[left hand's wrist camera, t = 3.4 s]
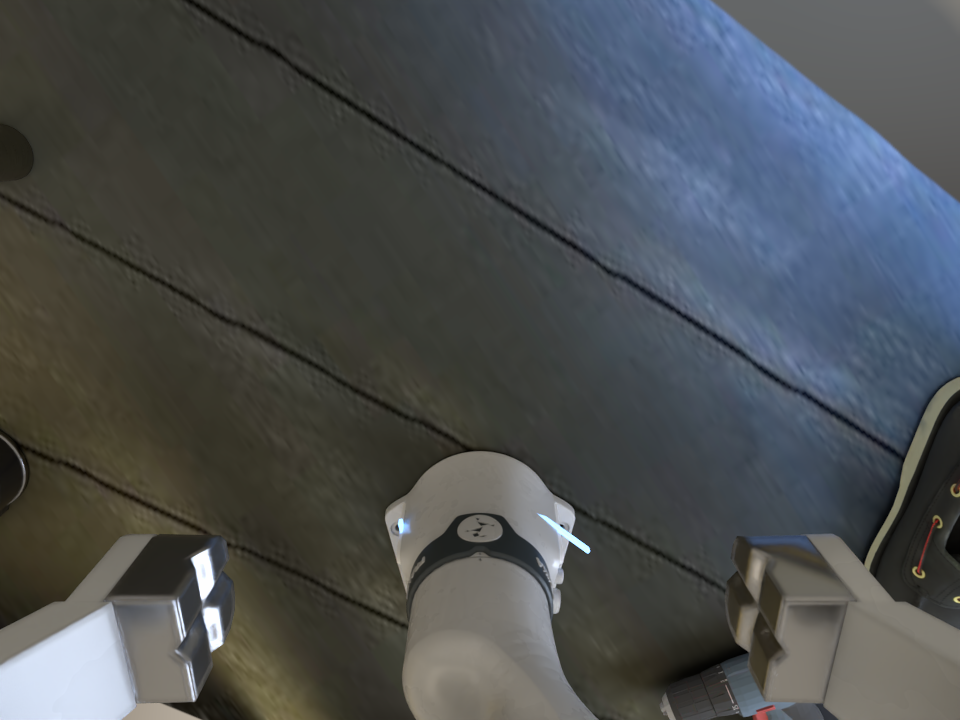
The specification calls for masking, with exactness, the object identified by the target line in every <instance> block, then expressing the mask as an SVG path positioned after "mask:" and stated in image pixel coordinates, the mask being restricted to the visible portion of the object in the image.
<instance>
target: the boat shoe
mask: <svg viewBox="0 0 960 720" xmlns="http://www.w3.org/2000/svg"><path fill="white" fill-rule="evenodd" d="M864 566H865V567H866V568H867V569H868V571H869V572H870V573H871V574H872V575H873V576H874V578H875V579H876V580H877V581H878V582H879V583H880V585H881V586H882V587H883V588H884V589H885V590H886V592H887V593H888V594H889V595H890V596H891V597H892V599H893V600H894V601H895V602H907V603H909V604H911V605H913V606H915V607H916V608H918V609H920V610H922V611H924V612H926V613H928V614H930V615H932V616H934V617H936V618H938V619H940V620H942V621H943V622H945V623H947V624H949V625H951V626H953V627H955V628H957V629H959V630H960V377H958V378H956V379H954V380H952V381H950V382H948V383H947V384H945V385H944V386H943V387H942V388H941V389H940V390H939V391H938V392H937V393H936V394H935V396H934V397H933V398H932V400H931V401H930V403H929V405H928V406H927V408H926V411H925V413H924V415H923V417H922V420H921V422H920V424H919V427H918V429H917V432H916V434H915V437H914V439H913V442H912V444H911V446H910V449H909V451H908V454H907V456H906V459H905V462H904V464H903V469H902V474H901V480H900V487H899V491H898V493H897V496H896V499H895V502H894V505H893V507H892V509H891V511H890V513H889V515H888V517H887V519H886V521H885V523H884V524H883V526H882V528H881V529H880V531H879V533H878V535H877V536H876V538H875V540H874V542H873V544H872V546H871V548H870V550H869V552H868V555H867V558H866V560H865V564H864Z"/></svg>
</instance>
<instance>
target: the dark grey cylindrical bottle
mask: <svg viewBox="0 0 960 720" xmlns="http://www.w3.org/2000/svg"><path fill="white" fill-rule="evenodd" d="M32 165H33V153H32V149H31V146H30V144H29V143H28V141H27V140H26V138H25V137H24V136H23V135H22V134H21V133H20V132H18V131H17V130H16V129H14V128H12V127H10V126H7V125H1V124H0V182H5V181H11V180H18V179H21V178H23V177H25V176H26V175H27V174H28V173H29V171H30V170H31V168H32Z"/></svg>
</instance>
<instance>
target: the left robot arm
mask: <svg viewBox="0 0 960 720" xmlns="http://www.w3.org/2000/svg"><path fill="white" fill-rule="evenodd" d="M385 522H386V525H387V529H388V532H389V536H390V539H391V542H392V546H393V549H394V553H395V556H396V560H397V563H398V566H399V570H400V573H401V577H402V580H403V584H404V587H405V591H406V599H407V618H408V622H409V628H408V636H407V643H406V650H405V658H404V665H403V672H402V682H403V690H404V694H405V698H406V701H407V703H408V706H409V708H410V710H411V712H412V713H413V715H414V717H415V718H416V720H598V719H597V718H596V717H595V716H594V715H593V714H592V713H591V712H590V711H589V709H588V708H587V707H586V706H585V705H584V704H583V703H582V702H581V700H580V699H579V698H578V696H577V695H576V694H575V693H574V691H573V690H572V688H571V687H570V685H569V684H568V682H567V680H566V678H565V676H564V674H563V671H562V669H561V665H560V662H559V658H558V654H557V651H556V646H555V642H554V637H553V632H552V627H551V622H552V618H553V613H554V614H556V613H558V612H559V609H560V602H561V593H560V590H558V589H556V588H555V587H556V584H562V582H563V576H564V572H563V569H561V567H562V563H563V560H564V556H565V553H566V549H567V546H568V542H569V540H570V541H571V542H572V543H574V544H575V545H577V546H578V547H579V548H581V549H582V550H584V551H585V552H586V553H589V552H590V549H589V547H588V546H586V545H585V544H584V543H582V542H581V541H579V540H578V539H577V538H575V537H574V536H573V535H571V532H572V529H573V525H574V522H575V512H574V509H573V507H572V506H571V505H570V504H568V503H567V502H565V501H564V500H562V499H560V498H559V497H557V496H555V495H553V494H552V493H551V492H550V491H549V490H548V488H547V487H546V486H545V484H544V483H543V482H542V480H541V479H540V478H539V476H538V475H537V474H536V473H535V472H534V471H533V470H532V469H530V468H529V467H528V466H527V465H525V464H523V463H522V462H520V461H518V460H516V459H514V458H512V457H509V456H507V455H504V454H500V453H495V452H488V451H472V452H465V453H460V454H456V455H453V456H451V457H448V458H446V459H444V460H442V461H440V462H438V463H437V464H435V465H434V466H432V467H431V468H430V469H428V470H427V471H426V472H425V473H424V474H423V475H422V476H421V478H420V479H419V480H418V482H417V483H416V484H415V486H414V487H413V489H412V490H411V491H410V492H409V493H408V494H407V495H405V496H403V497H401V498H400V499H398V500H396V501H395V502H393V503H392V504H391V505H389V506H388V507H387V509H386V512H385ZM560 524H562V525H563V526H562V527H560ZM397 525H398V526H399V527H398V526H397ZM228 560H229V554H228V549H227V544H226V540H225V539H224V538H223V537H221V536H220V535H174V534H159V535H156V534H128V535H125V536H122V537H120V538H119V539H118V540H117V541H116V543H115V544H114V545H113V546H112V547H111V548H110V550H109V551H108V552H107V553H106V554H105V555H104V557H103V558H102V559H101V560H100V561H99V562H98V564H97V565H96V566H95V567H94V568H93V569H92V571H91V572H90V573H89V574H88V575H87V576H86V578H85V579H84V580H83V581H82V582H81V583H80V585H79V586H78V587H77V588H76V589H75V590H74V592H73V593H72V594H71V595H70V596H69V597H68V599H67V600H66V601H65V602H53V603H51V604H49V605H47V606H45V607H44V608H42V609H40V610H38V611H36V612H34V613H32V614H30V615H28V616H26V617H24V618H22V619H20V620H18V621H16V622H15V623H13V624H11V625H9V626H7V627H5V628H3V629H1V630H0V720H121V719H123V718H124V717H125V716H126V715H127V714H128V713H130V712H131V711H132V710H133V709H134V708H135V707H136V703H167V702H195V701H196V699H197V697H198V695H199V693H200V691H201V689H202V687H203V685H204V683H205V681H206V679H207V677H208V675H209V673H210V671H211V669H212V667H213V663H212V657H211V652H212V651H213V650H215V649H216V648H218V647H219V646H220V645H222V644H223V643H224V642H225V640H226V637H227V635H228V633H229V631H230V629H231V624H232V620H233V615H234V610H235V591H234V585H233V581H232V580H231V579H230V578H229V577H228V576H227V575H226V574H225V573H224V572H223V571H222V570H223V569H224V567H225V565H226V563H227V561H228ZM731 560H732V561H733V563H734V565H735V567H736V569H737V570H738V571H737V572H736V573H735V574H734V575H733V576H732V577H731V578H730V579H729V580H728V581H727V585H726V593H725V607H726V617H727V621H728V624H729V628H730V631H731V633H732V635H733V637H734V640H735V642H736V643H737V644H738V645H740V646H741V647H742V648H744V649H745V650H747V651H748V652H749V657H748V663H747V667H748V669H749V671H750V673H751V675H752V677H753V679H754V681H755V683H756V685H757V687H758V689H759V691H760V693H761V695H762V697H763V699H764V701H765V702H792V703H824V705H823V706H824V707H825V708H826V709H827V710H828V711H830V712H831V713H832V714H833V715H834V716H835V717H837V718H838V719H839V720H960V630H959V629H957V628H955V627H953V626H951V625H949V624H947V623H945V622H943V621H942V620H940V619H938V618H936V617H934V616H932V615H930V614H928V613H926V612H924V611H922V610H920V609H918V608H916V607H915V606H913V605H911V604H909V603H907V602H895V601H894V600H893V599H892V597H891V596H890V595H889V594H888V593H887V592H886V590H885V589H884V588H883V587H882V586H881V585H880V583H879V582H878V581H877V580H876V579H875V578H874V576H873V575H872V574H871V573H870V572H869V571H868V569H867V568H866V567H865V566H864V565H863V564H862V562H861V561H860V560H859V559H858V558H857V557H856V556H855V554H854V553H853V552H852V551H851V550H850V549H849V547H848V546H847V545H846V544H845V543H844V542H843V540H842V539H841V538H840V537H838V536H836V535H834V534H806V535H799V536H737V537H736V539H735V542H734V544H733V547H732V553H731Z"/></svg>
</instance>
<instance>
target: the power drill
mask: <svg viewBox="0 0 960 720" xmlns="http://www.w3.org/2000/svg"><path fill="white" fill-rule="evenodd" d="M748 657H749V653H746V654H743V655H740V656H737V657H734V658H731V659H728V660H726V661H724V662H722V663H720V664H718V665H715V666H713V667H711V668H709V669H707V670H705V671H703V672H701V673H700V674H697V675H694V676H691V677H688V678H684V679H682V680H680V681H677V682H675V683H672V684H670V685H669V686H668V688H667V690H666V693H665V694H664V696H663V697H662V701H663V702H662V703H661V704H660V708H661V711H662V712H663V715H668V717H669V719H670V720H708V719H711V718H714V717H717V716H718V717H720V716H727V715H733V714H737V713H738V714H739V715H741V716H743V717H748V716H752V715H753V720H824V718H823V716H822V714H821V712H820V710H819V708H818V707H817V706H816V705H815V703H792V702H765V701H764V699H763V697H762V695H761V693H760V691H759V689H758V687H757V685H756V683H755V681H754V679H753V677H752V675H751V673H750V671H749V669H748V667H747V663H748ZM701 677H702V678H701ZM715 711H716V712H715Z"/></svg>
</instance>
